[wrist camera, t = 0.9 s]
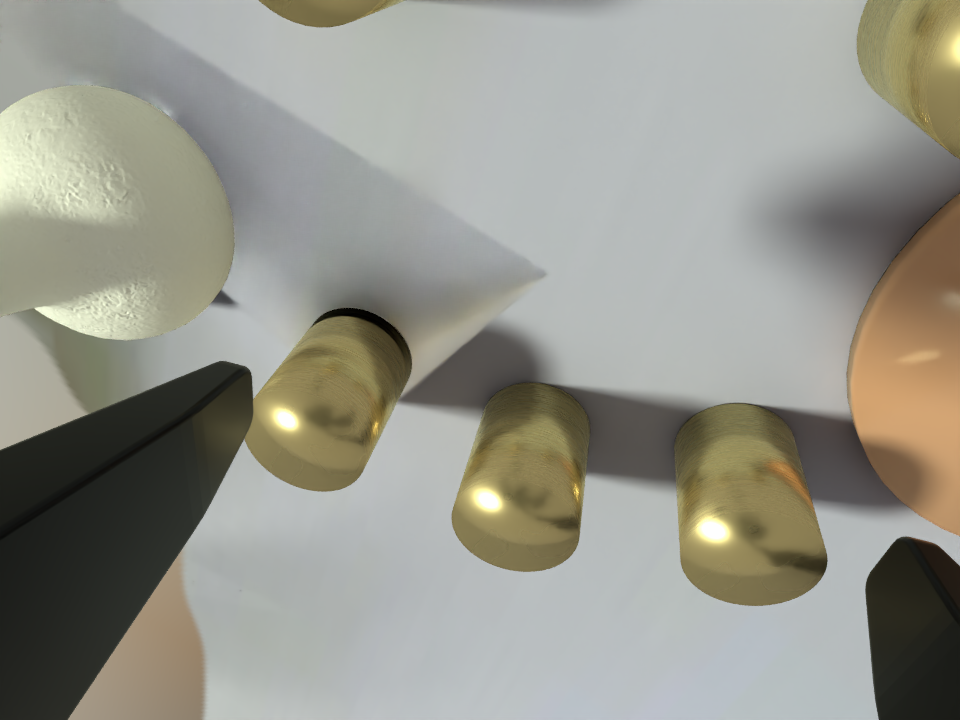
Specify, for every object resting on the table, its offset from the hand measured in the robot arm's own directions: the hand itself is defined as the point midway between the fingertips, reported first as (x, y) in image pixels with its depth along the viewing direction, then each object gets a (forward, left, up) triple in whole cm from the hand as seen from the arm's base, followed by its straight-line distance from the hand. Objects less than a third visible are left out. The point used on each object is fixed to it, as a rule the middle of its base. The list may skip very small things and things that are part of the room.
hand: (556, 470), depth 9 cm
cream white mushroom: (+7, +10, -9) cm, 15 cm away
